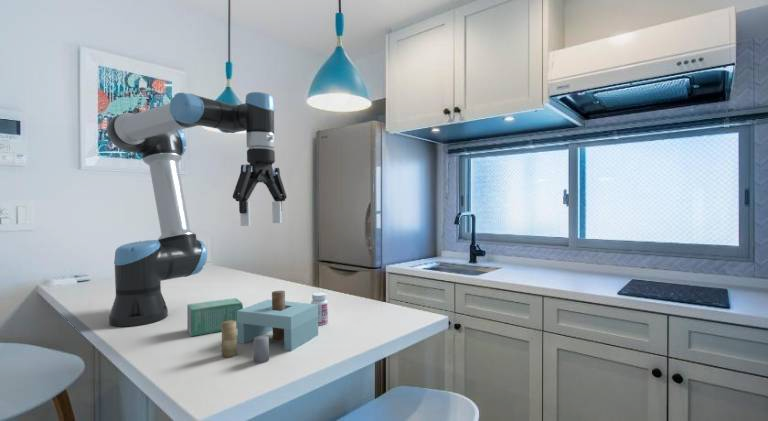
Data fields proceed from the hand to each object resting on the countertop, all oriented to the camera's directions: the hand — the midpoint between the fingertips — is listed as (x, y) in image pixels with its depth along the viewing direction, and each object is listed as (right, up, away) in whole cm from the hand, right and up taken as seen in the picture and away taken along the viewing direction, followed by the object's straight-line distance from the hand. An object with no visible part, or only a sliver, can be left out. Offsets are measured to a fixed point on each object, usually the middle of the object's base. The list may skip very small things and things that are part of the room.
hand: (262, 224), depth 113 cm
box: (-12, -29, -2) cm, 32 cm away
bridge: (+8, -29, -11) cm, 32 cm away
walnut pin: (+8, -29, -11) cm, 32 cm away
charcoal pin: (+7, -29, -25) cm, 39 cm away
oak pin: (-1, -29, -21) cm, 36 cm away
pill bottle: (+16, -29, +2) cm, 33 cm away
